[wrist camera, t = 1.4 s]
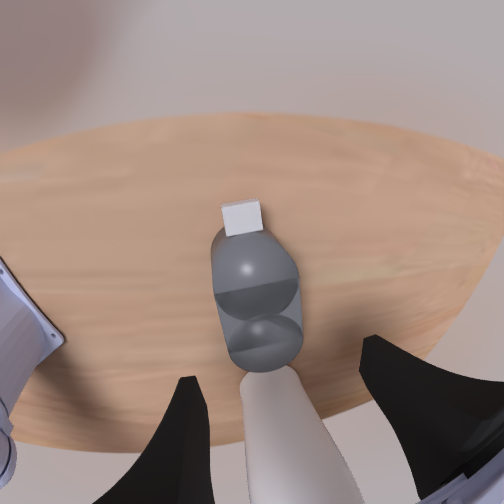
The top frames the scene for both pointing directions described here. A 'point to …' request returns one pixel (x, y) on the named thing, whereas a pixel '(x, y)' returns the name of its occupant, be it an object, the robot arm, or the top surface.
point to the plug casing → (255, 291)
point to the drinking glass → (290, 445)
